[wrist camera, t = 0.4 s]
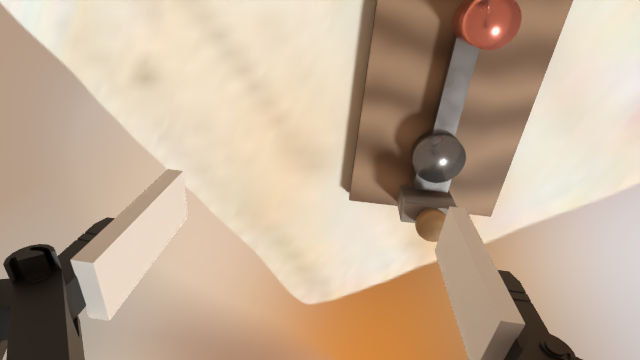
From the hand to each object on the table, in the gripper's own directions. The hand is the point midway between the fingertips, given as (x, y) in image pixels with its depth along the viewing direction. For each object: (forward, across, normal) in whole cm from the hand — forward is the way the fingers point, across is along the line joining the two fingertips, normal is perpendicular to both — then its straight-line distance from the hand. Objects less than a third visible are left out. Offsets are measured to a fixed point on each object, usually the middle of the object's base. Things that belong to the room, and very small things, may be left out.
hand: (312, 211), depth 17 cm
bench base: (+25, +12, 0) cm, 28 cm away
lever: (+23, +12, +1) cm, 26 cm away
